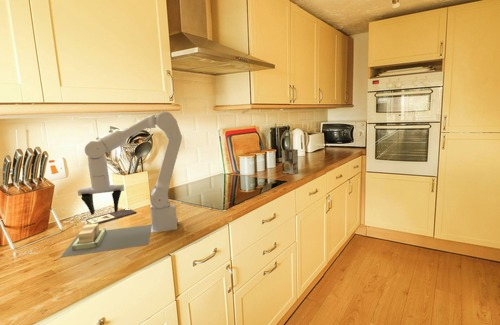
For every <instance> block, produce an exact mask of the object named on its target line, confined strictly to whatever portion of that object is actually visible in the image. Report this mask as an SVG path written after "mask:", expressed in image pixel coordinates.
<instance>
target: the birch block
mask: <svg viewBox="0 0 500 325" xmlns="http://www.w3.org/2000/svg"><path fill="white" fill-rule="evenodd" d="M99 225H100V224H98V223H96V224H91V223H89V224H85V226H84V227H82V229H81V230H80V231H79V233H77V235H78V237H79V244H82V243H89V242H95V241H96V239H97V237H98V236H99V234H100V232H99V229H100V226H99Z"/></svg>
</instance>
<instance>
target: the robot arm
mask: <svg viewBox="0 0 500 325" xmlns="http://www.w3.org/2000/svg"><path fill="white" fill-rule="evenodd" d="M156 126H157V127H158V128H160V130H162V131H163V132H164V134H165V136H166V137H167V143H166V146H165V151H164V153H163V159H162V162H161V165H160V169H159V172H158V176H157V180H156V182H155V186H154V187H153V188H152V190H150V199H149V200H150V205H149V207H150V208H149V209H150V218H151V225H152V228H151V234H153V233H160V232H167V231H175V230H178V223H179V221H178V220H179V219H178V217H177V216H178V215H177V208H176V207H177V206H176V204H171V203H170V202H169V195H168V194H169V190H170V184H171V180H172V175H173V172H174V169H175V164H176V161H177V159H178V155H179V152H180V147H181V143H182V140H183V136H182V133H181V131H180V130H181V129H180V127H179V125H178V121H177V119H176V118H175V117H174V115H173V114H172V113H171V112H169V111H167V110H166V111H165V110H164V111H163V110H162V111H159V112H158V113H157V114H156V113H155V114H151V115H149V116H146V117H144V118H142V119H140V120H139V121H136V122H134V123H133V124H132V125H129V126H128V127H126V128H124V129H123V130H122V129H118V128H116V129H112V128H111V129H109V130H108V132H107V133H105V134H104V135H101V136H97V137H95V140H93V141H89V142H88V143H87V144H86V145H85V147H84V153H85V154H86V156H87V161H88V162H87V163H88V169H89V178H90V184H91V187H86V188H79V189H78V190H77V196H80V197H81V201H83V202H84V204H85V205H86V207H87V209H88V210H89V213H90V215H92V216H93V215H95V205H94V198H93V197H94V195H95V194H103V193H111V196H112V201H113V210H114V212H117V211H119V209H118V208H119V202H120V197H121V194H122V192H124V191H125V187H124V186H125V185H124V184H111V183H110V175H109V169H108V163H107V159H106V158H107V157H106V153H110V152H112V151H114V150H115V149H118V148H120V147H121V146H124V145H125V144H126V143H127V139H128V138H129V137H131V136H134V135H137V134H138V133H140V132H142V131H144V130H146V129H156Z"/></svg>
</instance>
